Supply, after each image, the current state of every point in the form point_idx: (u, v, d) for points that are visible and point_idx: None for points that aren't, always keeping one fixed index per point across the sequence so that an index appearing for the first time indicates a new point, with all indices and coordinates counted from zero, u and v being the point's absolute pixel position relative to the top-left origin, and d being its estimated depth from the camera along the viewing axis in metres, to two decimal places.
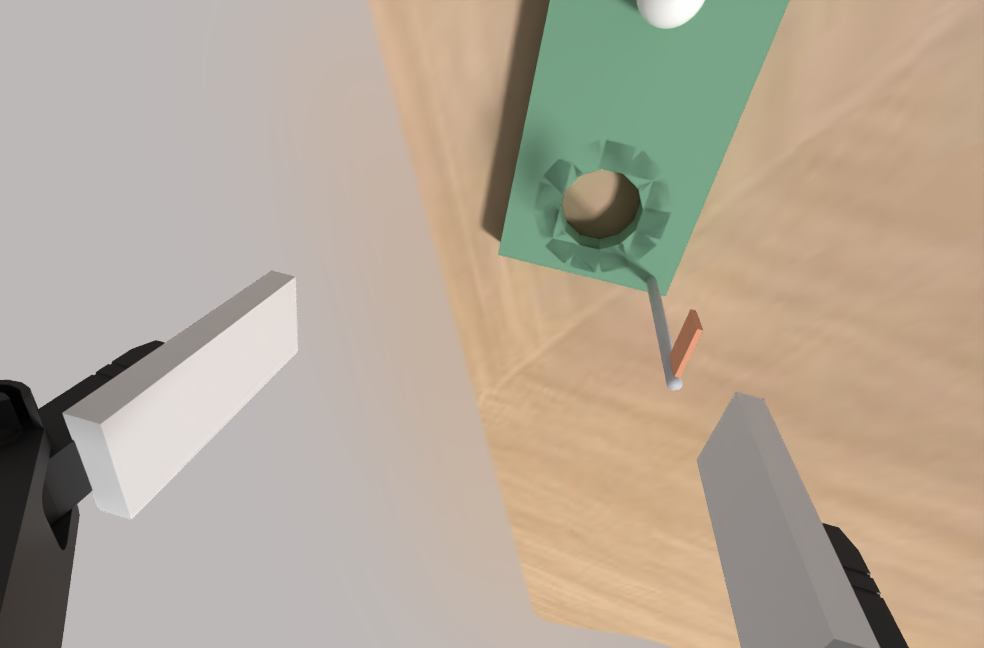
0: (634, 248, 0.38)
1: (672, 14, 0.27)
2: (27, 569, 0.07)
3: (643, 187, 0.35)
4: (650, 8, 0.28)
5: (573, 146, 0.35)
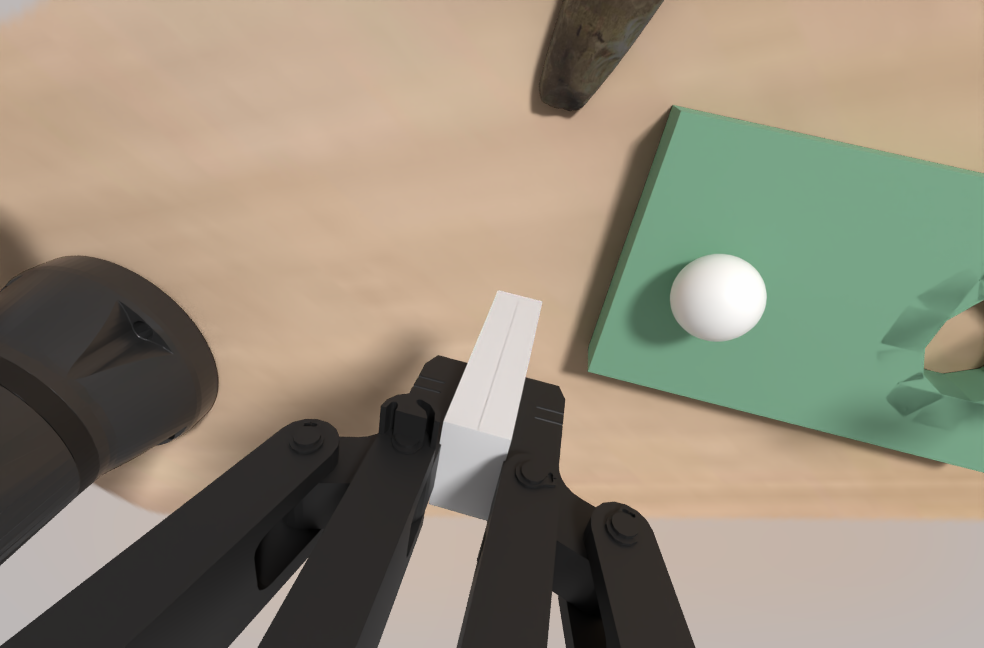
0: None
1: (757, 313, 0.21)
2: (388, 578, 0.08)
3: None
4: (741, 335, 0.22)
5: (873, 381, 0.25)
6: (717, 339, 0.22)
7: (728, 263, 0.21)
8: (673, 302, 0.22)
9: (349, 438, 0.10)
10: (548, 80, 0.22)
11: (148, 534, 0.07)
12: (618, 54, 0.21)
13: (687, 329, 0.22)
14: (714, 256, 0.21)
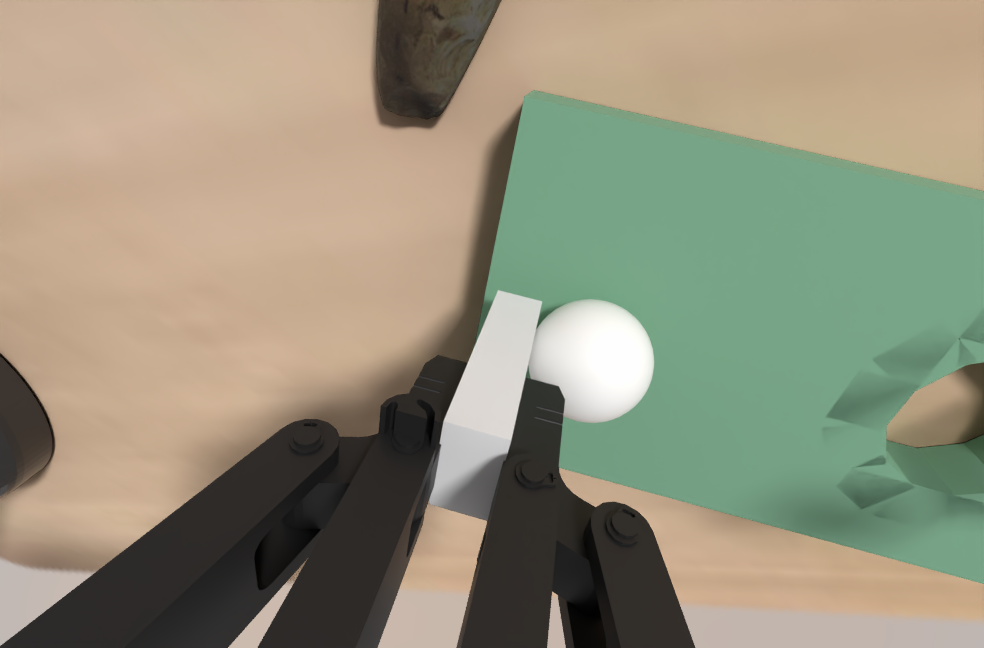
0: None
1: (635, 390, 0.14)
2: (388, 578, 0.08)
3: (967, 356, 0.16)
4: (619, 416, 0.15)
5: (820, 464, 0.19)
6: (585, 421, 0.15)
7: (594, 317, 0.14)
8: None
9: (349, 437, 0.10)
10: (384, 80, 0.16)
11: (148, 534, 0.07)
12: (469, 34, 0.15)
13: None
14: (580, 304, 0.15)
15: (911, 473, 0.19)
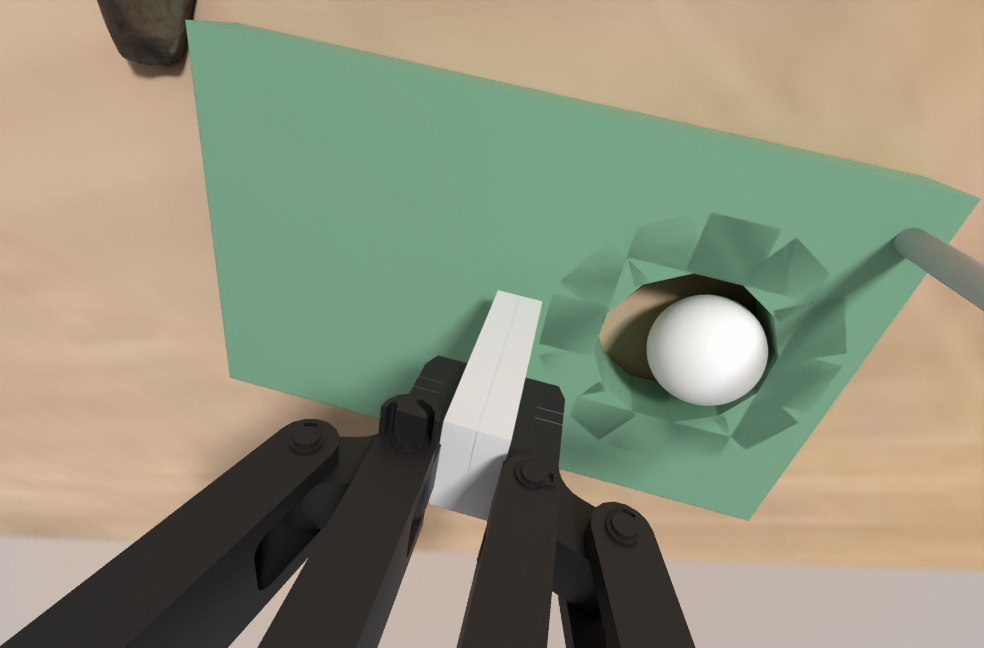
0: (792, 286, 0.15)
1: None
2: (388, 578, 0.08)
3: (639, 275, 0.16)
4: None
5: None
6: None
7: (746, 315, 0.16)
8: (722, 395, 0.16)
9: (349, 437, 0.10)
10: (110, 28, 0.17)
11: (148, 534, 0.07)
12: None
13: None
14: (727, 317, 0.16)
15: (640, 403, 0.19)
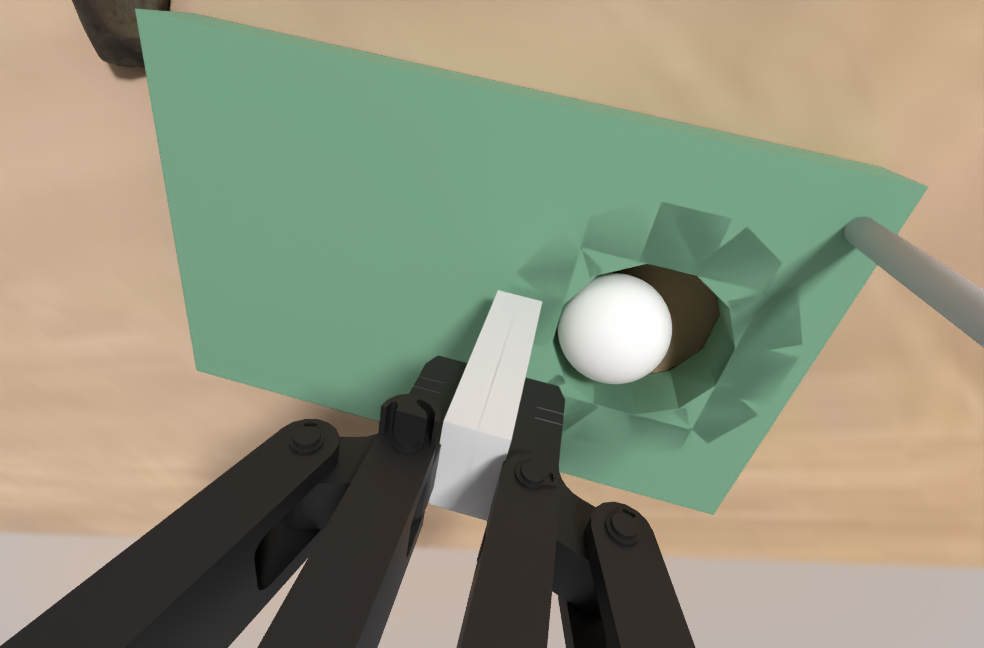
0: (745, 276, 0.15)
1: (670, 340, 0.17)
2: (388, 578, 0.08)
3: (594, 266, 0.16)
4: None
5: None
6: None
7: (631, 291, 0.16)
8: (575, 354, 0.17)
9: (349, 437, 0.10)
10: (88, 31, 0.17)
11: (148, 534, 0.07)
12: None
13: (597, 380, 0.17)
14: (608, 283, 0.16)
15: (602, 395, 0.19)
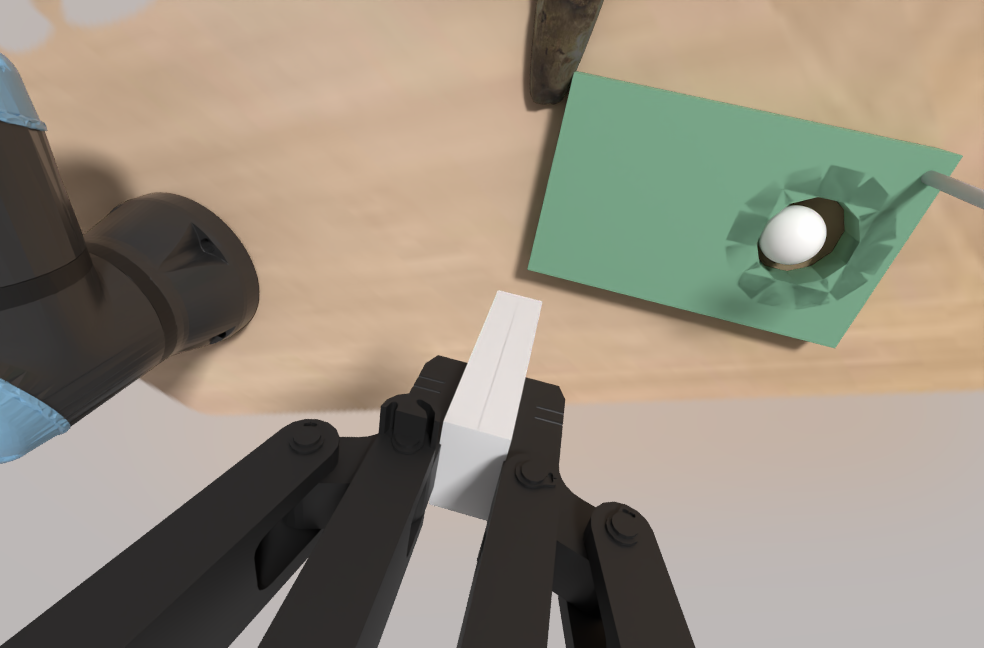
0: (869, 202, 0.31)
1: None
2: (388, 578, 0.08)
3: (789, 198, 0.32)
4: None
5: (726, 270, 0.35)
6: None
7: (808, 212, 0.32)
8: (776, 245, 0.32)
9: (349, 437, 0.10)
10: (534, 87, 0.33)
11: (147, 534, 0.07)
12: (576, 58, 0.32)
13: (785, 260, 0.33)
14: (795, 208, 0.32)
15: (776, 276, 0.35)
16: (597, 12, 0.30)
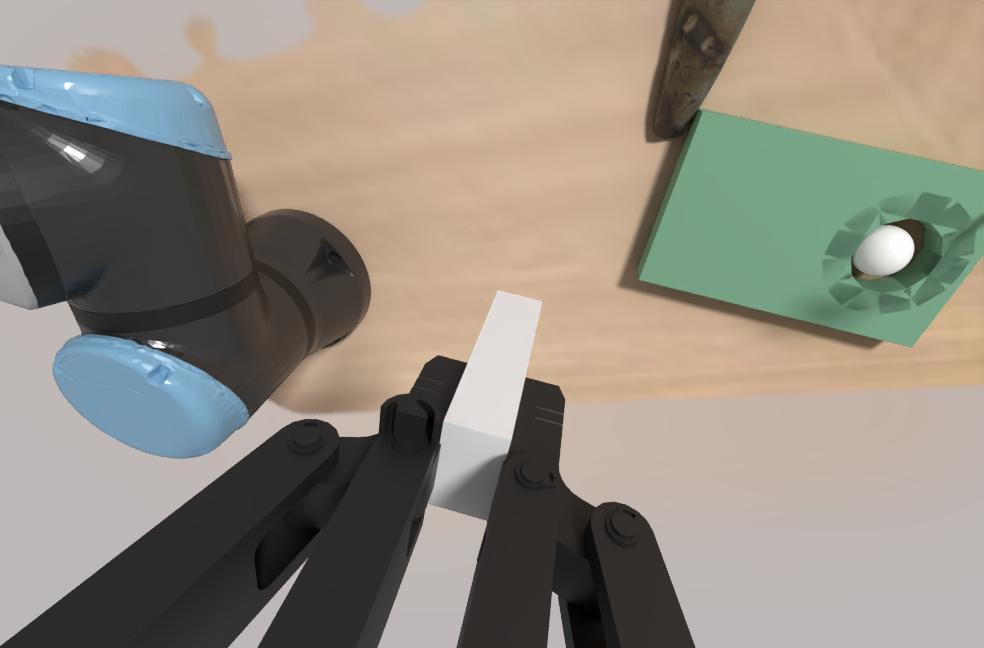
0: (953, 223, 0.36)
1: None
2: (388, 578, 0.08)
3: (883, 219, 0.37)
4: None
5: (821, 280, 0.40)
6: (892, 273, 0.38)
7: (900, 231, 0.37)
8: (871, 260, 0.37)
9: (349, 438, 0.10)
10: (659, 124, 0.38)
11: (148, 534, 0.07)
12: (700, 100, 0.37)
13: (877, 272, 0.38)
14: (887, 228, 0.37)
15: (864, 285, 0.40)
16: (724, 62, 0.35)
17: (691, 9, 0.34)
